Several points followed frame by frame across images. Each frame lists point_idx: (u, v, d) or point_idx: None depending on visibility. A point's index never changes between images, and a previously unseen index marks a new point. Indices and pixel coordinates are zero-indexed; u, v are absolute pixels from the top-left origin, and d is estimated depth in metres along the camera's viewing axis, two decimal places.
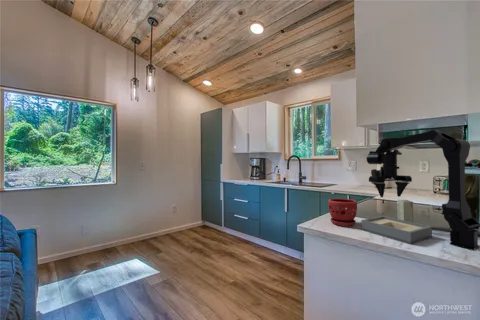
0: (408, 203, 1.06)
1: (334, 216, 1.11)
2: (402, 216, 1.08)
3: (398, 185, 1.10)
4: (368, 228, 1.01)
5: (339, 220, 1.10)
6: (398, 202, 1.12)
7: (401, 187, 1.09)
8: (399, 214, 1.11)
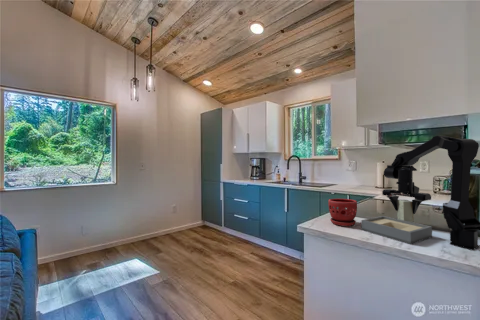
0: (408, 203, 1.06)
1: (334, 216, 1.11)
2: (402, 216, 1.08)
3: None
4: (368, 228, 1.01)
5: (339, 220, 1.10)
6: (398, 202, 1.12)
7: None
8: (399, 214, 1.11)
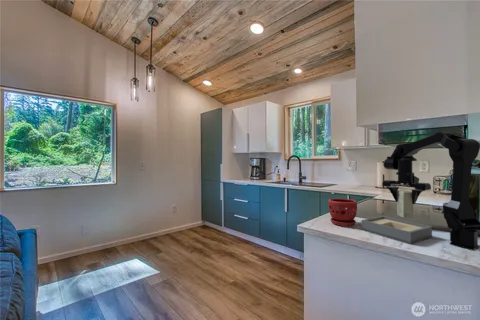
0: (408, 194, 1.06)
1: (334, 216, 1.11)
2: (402, 207, 1.08)
3: None
4: (368, 228, 1.01)
5: (339, 220, 1.10)
6: (398, 193, 1.12)
7: None
8: (399, 205, 1.11)
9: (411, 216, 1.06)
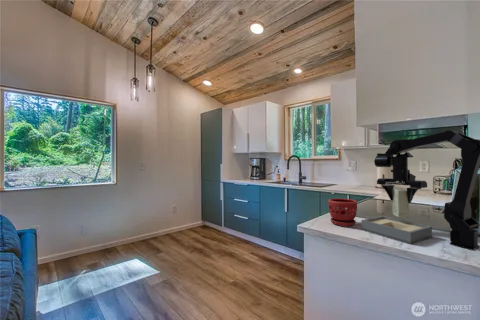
0: (403, 192, 1.01)
1: (334, 216, 1.11)
2: (397, 206, 1.02)
3: None
4: (368, 228, 1.01)
5: (339, 220, 1.10)
6: (393, 191, 1.06)
7: None
8: (394, 204, 1.05)
9: (407, 216, 1.00)
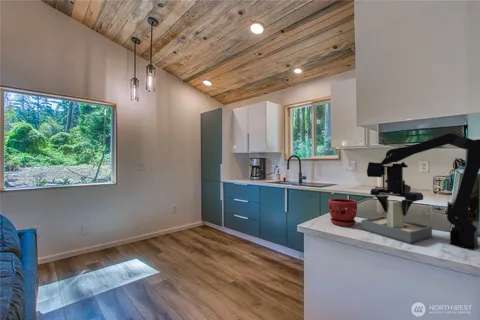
0: (398, 204, 0.95)
1: (334, 216, 1.11)
2: (391, 218, 0.97)
3: None
4: (368, 228, 1.01)
5: (339, 220, 1.10)
6: (387, 203, 1.01)
7: None
8: (388, 216, 1.00)
9: None
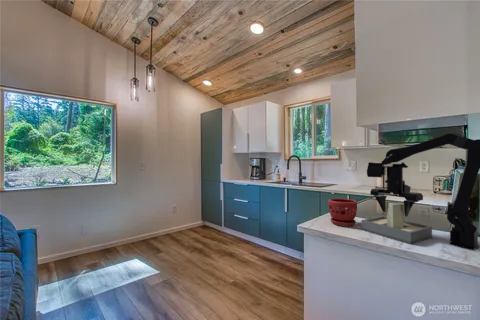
0: (398, 206, 0.95)
1: (334, 216, 1.11)
2: (391, 220, 0.97)
3: None
4: (368, 228, 1.01)
5: (339, 220, 1.10)
6: (387, 205, 1.01)
7: None
8: (388, 218, 1.00)
9: None
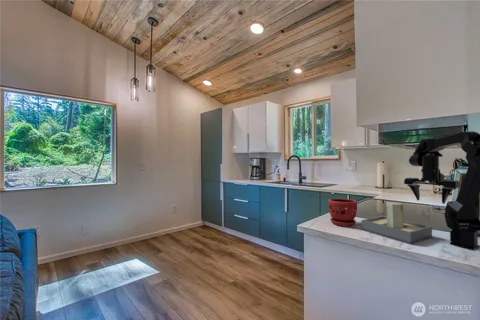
0: (398, 206, 0.96)
1: (334, 216, 1.11)
2: (391, 220, 0.97)
3: None
4: (368, 228, 1.01)
5: (339, 220, 1.10)
6: (387, 205, 1.01)
7: None
8: (388, 218, 1.00)
9: None
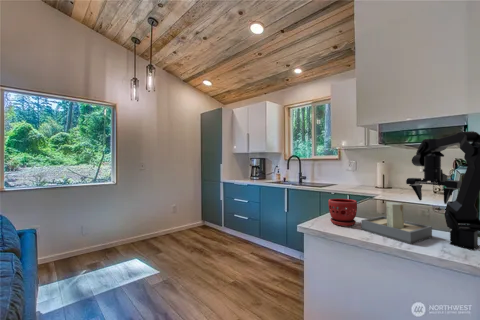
0: (398, 206, 0.96)
1: (334, 216, 1.11)
2: (391, 220, 0.97)
3: None
4: (368, 228, 1.01)
5: (339, 220, 1.10)
6: (387, 205, 1.01)
7: None
8: (388, 218, 1.00)
9: None
